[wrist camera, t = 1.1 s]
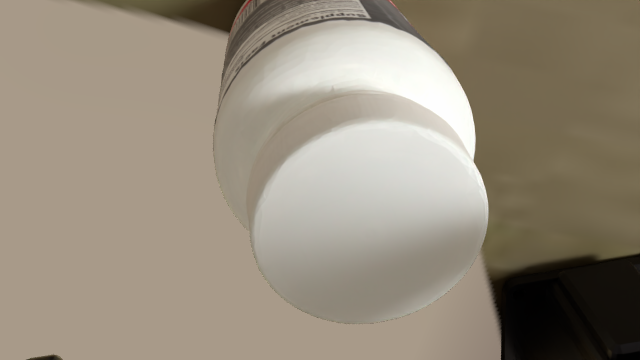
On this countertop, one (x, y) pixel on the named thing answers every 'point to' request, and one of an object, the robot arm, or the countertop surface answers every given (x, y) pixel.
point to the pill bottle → (348, 158)
